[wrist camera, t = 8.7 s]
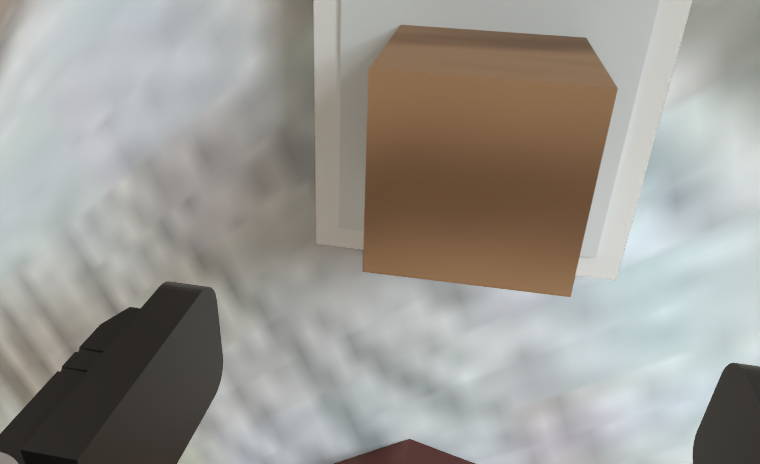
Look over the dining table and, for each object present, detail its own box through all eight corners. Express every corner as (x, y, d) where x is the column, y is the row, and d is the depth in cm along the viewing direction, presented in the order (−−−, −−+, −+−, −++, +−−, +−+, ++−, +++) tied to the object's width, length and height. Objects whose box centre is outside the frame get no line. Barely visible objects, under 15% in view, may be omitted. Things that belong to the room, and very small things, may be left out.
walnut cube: (401, 24, 21) (368, 68, 15) (585, 37, 20) (617, 88, 15) (392, 188, 23) (362, 271, 18) (553, 205, 23) (570, 296, 17)
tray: (330, -84, 22) (310, -81, 19) (685, -65, 20) (710, -60, 18) (330, 216, 28) (314, 246, 25) (606, 248, 26) (616, 283, 24)
